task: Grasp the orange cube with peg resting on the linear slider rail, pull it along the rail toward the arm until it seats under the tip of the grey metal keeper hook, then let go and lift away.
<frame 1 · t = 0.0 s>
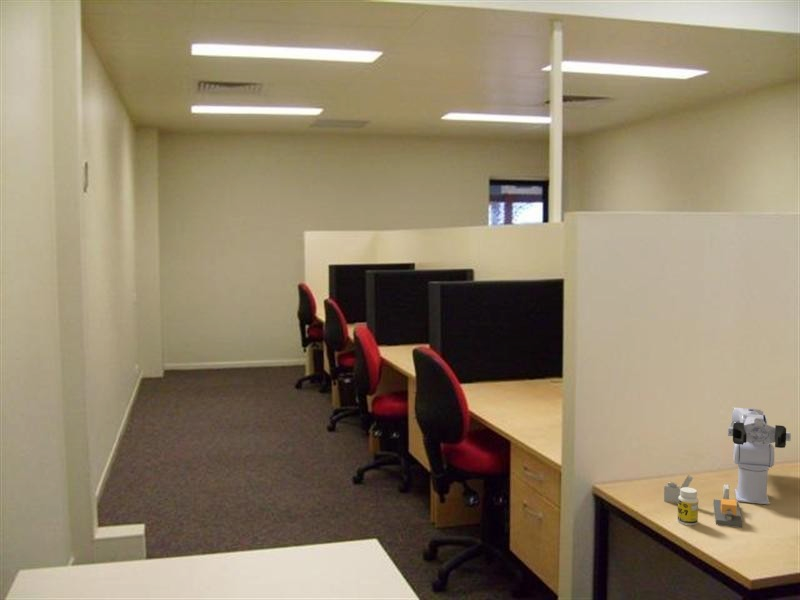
hand: (762, 439, 184), 22 cm above the table, tool horizontal, fingers open, 7 cm apart
lighter: (678, 503, 201), on the table
supplement bottle: (687, 522, 188), on the table
linear slider rail: (727, 515, 193), on the table
orange cube with peg: (728, 507, 188), point 4 cm above the table, slide at 0.0 cm
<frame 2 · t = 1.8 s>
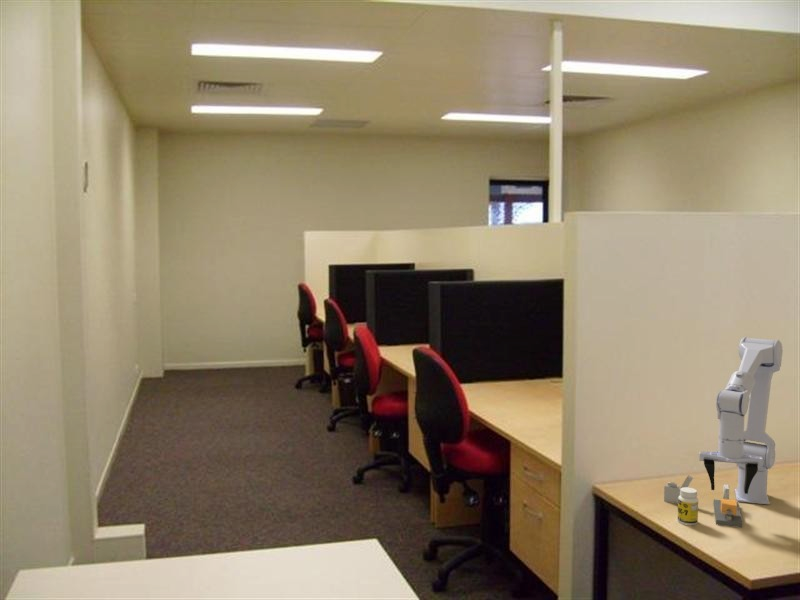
hand: (729, 490, 188), 8 cm above the table, tool pointing down, fingers open, 7 cm apart
nothing on the table moved.
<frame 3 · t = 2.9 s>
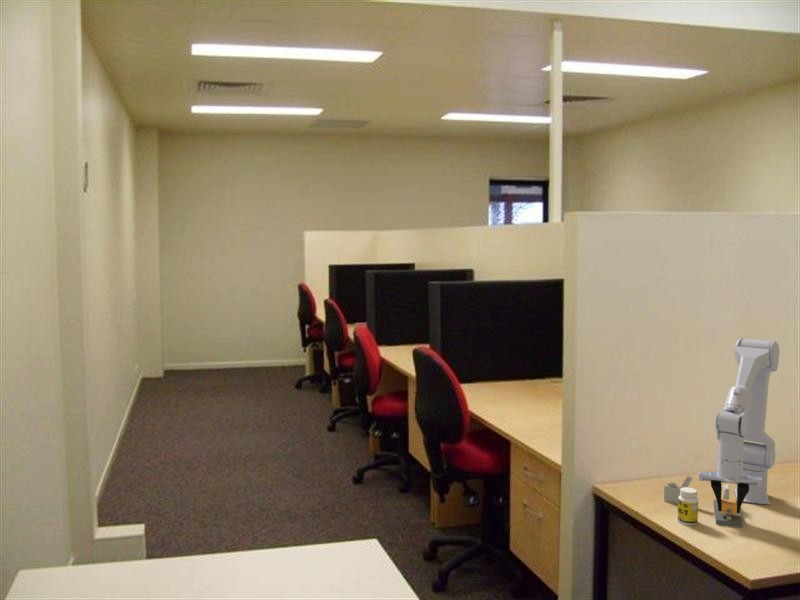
hand: (728, 510, 189), 3 cm above the table, tool pointing down, fingers closed on orange cube with peg, 3 cm apart
orange cube with peg: (728, 507, 188), point 4 cm above the table, slide at 0.0 cm, touching gripper
everything else where it was.
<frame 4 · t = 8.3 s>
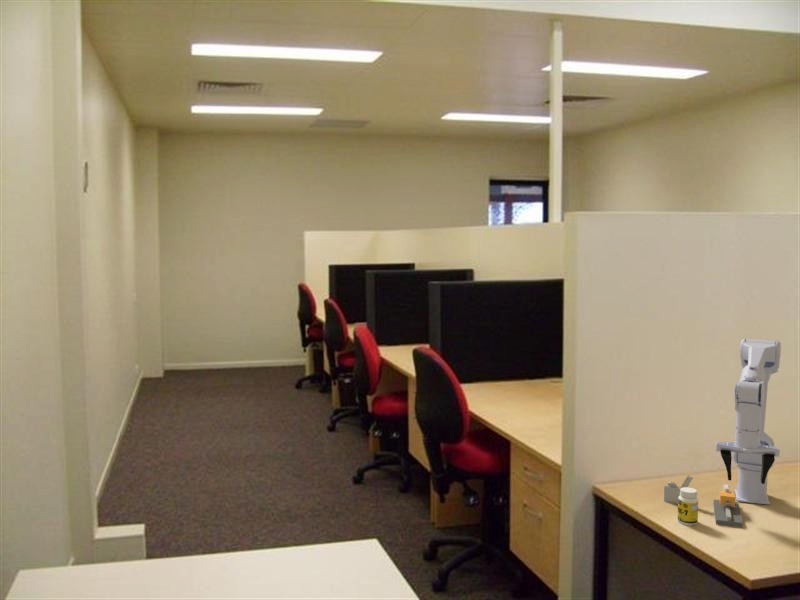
hand: (745, 480, 189), 10 cm above the table, tool pointing down, fingers open, 7 cm apart
orange cube with peg: (727, 499, 194), point 4 cm above the table, slide at 6.2 cm
everything else where it was.
at the end: orange cube with peg slide at 6.2 cm; the gripper is holding nothing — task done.
